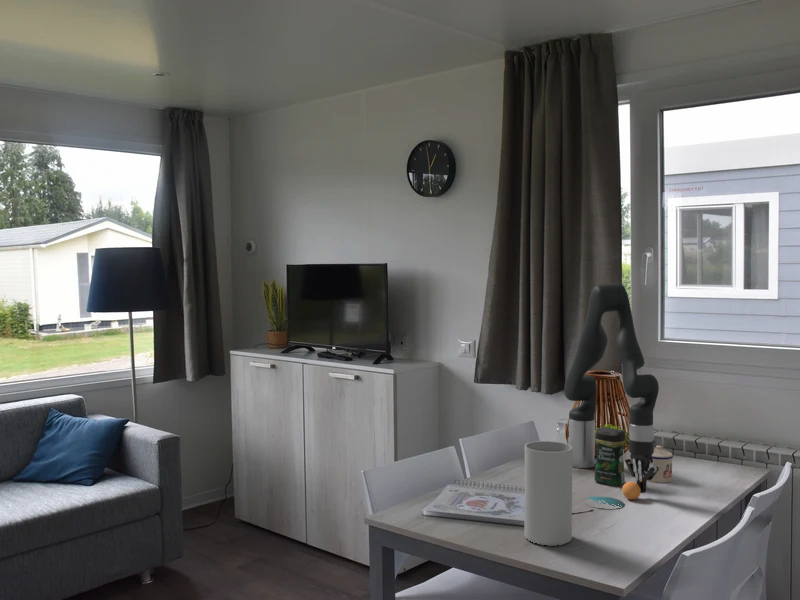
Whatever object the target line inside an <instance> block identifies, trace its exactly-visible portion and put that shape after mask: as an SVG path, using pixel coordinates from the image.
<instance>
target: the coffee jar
mask: <svg viewBox="0 0 800 600" xmlns="http://www.w3.org/2000/svg"><path fill="white" fill-rule="evenodd" d="M595 445H596V459H595V460H596V461H595V466H594V467H595V469H594V481H595V482H596V483H598V484H603V485H608V486H616V487H617V486H622V485H624V484H625V483H626V482H625V481H626V479H625V477H626V475H625V473H626V472H625V459H624V448H625V447H624V446H625V445H626V435H625V431H624V430H623V429H616V428H610V427H603V426H601V427H598V428H597V429H596V430H595Z"/></svg>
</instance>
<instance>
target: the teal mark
mask: <svg viewBox="0 0 800 600" xmlns="http://www.w3.org/2000/svg"><path fill="white" fill-rule="evenodd" d="M586 499H592V500H594V501H597V502H598V501H599V500H600V501H601V500H604V501H605V502H606V503H608V504H609V505H612V504H614V505H616V506H619V507H621V506H623V507H625V503H624V501H622V500H620V499H617V498H613V497H608V496H592V497H587V498H586ZM594 501H593V502H594ZM601 502H602V503H603V504H606V503H604V502H603V501H601ZM594 503H595V502H594ZM598 503H599V502H598ZM596 504H597V503H596ZM600 504H601V503H600ZM618 504H619V505H618ZM614 505H612V506H614ZM620 505H621V506H620ZM614 507H615V506H614Z"/></svg>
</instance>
